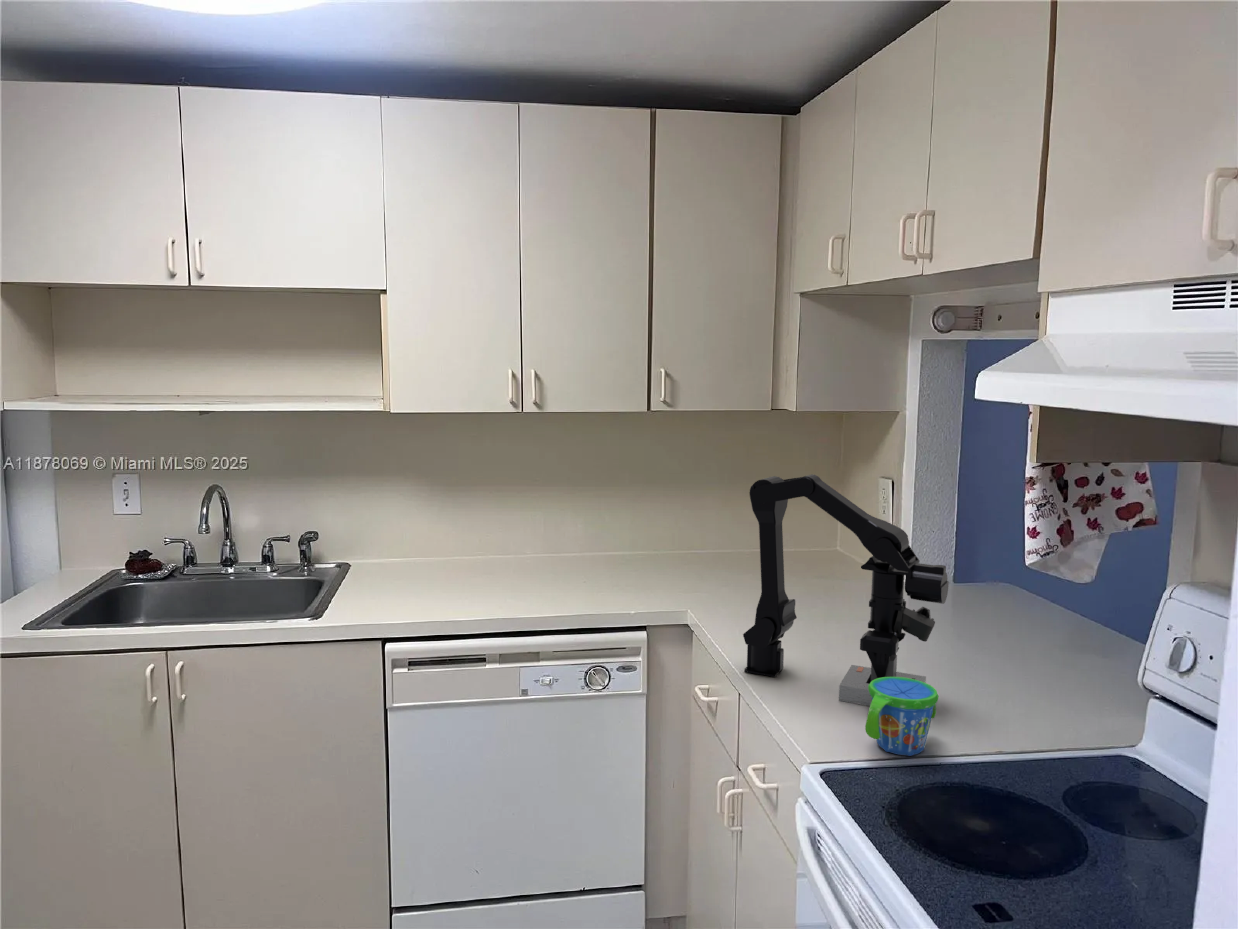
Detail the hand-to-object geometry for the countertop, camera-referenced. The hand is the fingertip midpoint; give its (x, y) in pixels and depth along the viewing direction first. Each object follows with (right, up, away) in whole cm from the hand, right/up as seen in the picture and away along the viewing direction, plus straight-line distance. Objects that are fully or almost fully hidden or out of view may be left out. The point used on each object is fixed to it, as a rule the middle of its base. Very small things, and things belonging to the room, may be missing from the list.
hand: (883, 675), depth 160 cm
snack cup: (-4, -7, -21) cm, 22 cm away
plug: (0, -4, 0) cm, 4 cm away
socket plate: (0, -4, 0) cm, 4 cm away
